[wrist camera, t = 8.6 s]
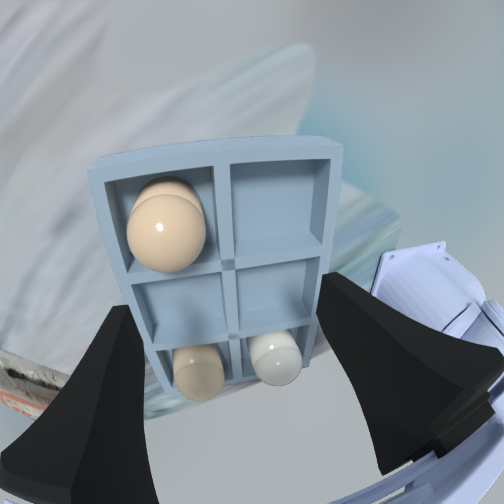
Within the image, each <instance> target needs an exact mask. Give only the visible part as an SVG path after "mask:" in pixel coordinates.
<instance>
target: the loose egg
mask: <svg viewBox="0 0 504 504" xmlns="http://www.w3.org/2000/svg"><path fill="white" fill-rule="evenodd" d="M205 238H206V226H205V220H204V215H203V210H202V205H201V200H200V197H199V195H198V193H197V191H196V190H195V188H194V187H193V186H192V185H191V184H190V183H188V182H187V181H185V180H183V179H181V178H178V177H174V176H163V177H158V178H156V179H153V180H151V181H150V182H148V183H147V184H146V185H144V186H143V188H142V189H141V190H140V192H139V193H138V195H137V197H136V200H135V203H134V206H133V209H132V211H131V214H130V217H129V220H128V224H127V241H128V245H129V248H130V250H131V252H132V254H133V256H134V257H135V258H136V259H137V261H138V262H139V263H141V264H142V265H143V266H145V267H146V268H148V269H150V270H153V271H156V272H160V273H172V272H176V271H179V270H182V269H184V268H186V267H187V266H189V265H190V264H191V263H192V262H193V261H195V260H196V258H197V257H198V256H199V254H200V252H201V251H202V249H203V246H204V243H205Z"/></svg>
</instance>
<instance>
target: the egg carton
mask: <svg viewBox="0 0 504 504" xmlns="http://www.w3.org/2000/svg"><path fill="white" fill-rule="evenodd" d="M343 153H344V145H342V144H340V143H337V142H335V141H333V140H330V139H327V138H325V137H322V136H259V137H241V138H227V139H215V140H204V141H195V142H186V143H178V144H171V145H164V146H157V147H151V148H145V149H139V150H133V151H128V152H122V153H117V154H112V155H107V156H103V157H101V158H99V159H98V160H97V161H96V162H95V163H94V164H93V165H92V166H91V167H90V168H89V169H88V170H87V174H88V179H89V184H90V188H91V193H92V197H93V201H94V206H95V210H96V214H97V217H98V221H99V225H100V229H101V232H102V236H103V239H104V243H105V246H106V249H107V253H108V256H109V259H110V262H111V265H112V268H113V271H114V274H115V277H116V280H117V283H118V286H119V289H120V291H121V294H122V297H123V299H124V302H125V305H129V307H130V310H131V313H132V315H133V318H134V320H135V323H136V325H137V328H138V330H139V332H140V335H141V337H142V339H143V342H144V350H145V352H146V355H147V357H148V359H149V361H150V363H151V365H152V367H153V369H154V371H155V374H156V376H157V378H158V380H159V382H160V384H161V385H162V387H163V389H164V391H165V393H175V392H180V391H179V390H178V388H177V387H176V384H175V381H174V371H173V358H172V349H176V348H184V347H191V346H198V345H204V344H211V343H217V344H218V348H219V352H220V357H221V361H222V366H223V370H224V376H225V380H224V385H229V384H235V383H240V382H245V381H250V380H255V379H259V378H258V376H257V375H256V373H255V371H254V368H253V365H252V362H251V358H250V355H249V352H248V348H247V345H246V342H245V338H246V337H251V336H256V335H261V334H266V333H271V332H276V331H281V330H285V329H290V331H291V333H292V335H293V337H294V340H295V342H296V344H297V346H298V348H299V350H300V353H301V355H302V368H305V367H309V363H310V359H311V355H312V350H313V346H314V342H315V337H316V333H317V328H318V323H319V320H318V318H317V315H316V309H317V303H318V298H319V292H320V286H321V280H322V274H327V273H328V271H329V265H330V259H331V253H332V246H333V240H334V233H335V226H336V218H337V211H338V203H339V194H340V185H341V175H342V164H343ZM163 176H174V177H178V178H181V179H183V180H185V181H187V182H188V183H190V184H191V185H192V186H193V187H194V188H195V190H196V191H197V193H198V195H199V197H200V200H201V205H202V210H203V215H204V220H205V226H206V238H205V243H204V246H203V249H202V251H201V252H200V254H199V256H198V257H197V258H196V260H195V261H193V262H192V263H191V264H190V265H189V266H187V267H186V268H184V269H182V270H179V271H176V272H172V273H160V272H156V271H153V270H150V269H148V268H146V267H145V266H143V265H142V264H141V263H139V262H138V261H137V259H136V258H135V257H134V256H133V254H132V252H131V250H130V248H129V245H128V241H127V224H128V220H129V217H130V214H131V211H132V209H133V206H134V203H135V200H136V197H137V195H138V193H139V192H140V190H141V189H142V188H143V186H144V185H146V184H147V183H148V182H150V181H151V180H153V179H156V178H158V177H163ZM302 368H301V369H302ZM224 385H223V386H224Z"/></svg>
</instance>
